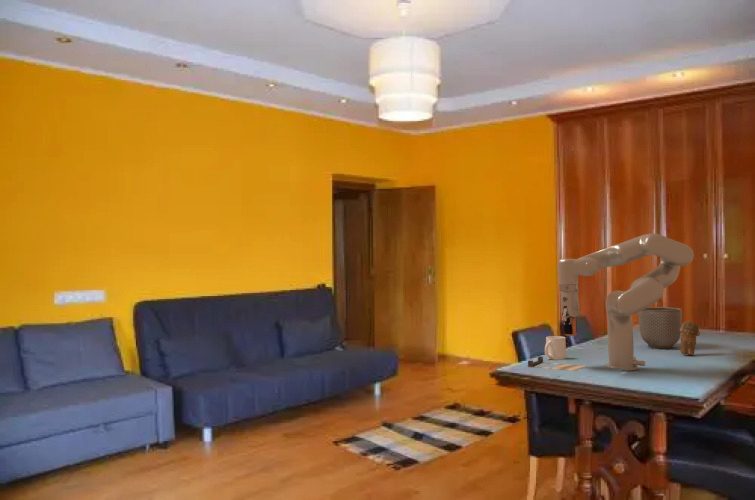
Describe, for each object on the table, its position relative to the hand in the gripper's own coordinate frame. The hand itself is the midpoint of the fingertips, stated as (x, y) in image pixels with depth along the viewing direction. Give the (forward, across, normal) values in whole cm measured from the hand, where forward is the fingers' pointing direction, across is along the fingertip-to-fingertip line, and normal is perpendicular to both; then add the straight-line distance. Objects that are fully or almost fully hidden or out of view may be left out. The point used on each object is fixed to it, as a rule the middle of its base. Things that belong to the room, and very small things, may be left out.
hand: (570, 333), depth 251 cm
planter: (+16, +76, -19) cm, 80 cm away
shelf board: (+15, -3, +5) cm, 16 cm away
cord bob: (+1, 0, 0) cm, 1 cm away
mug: (+15, +16, +13) cm, 26 cm away
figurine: (+16, +58, -35) cm, 69 cm away
